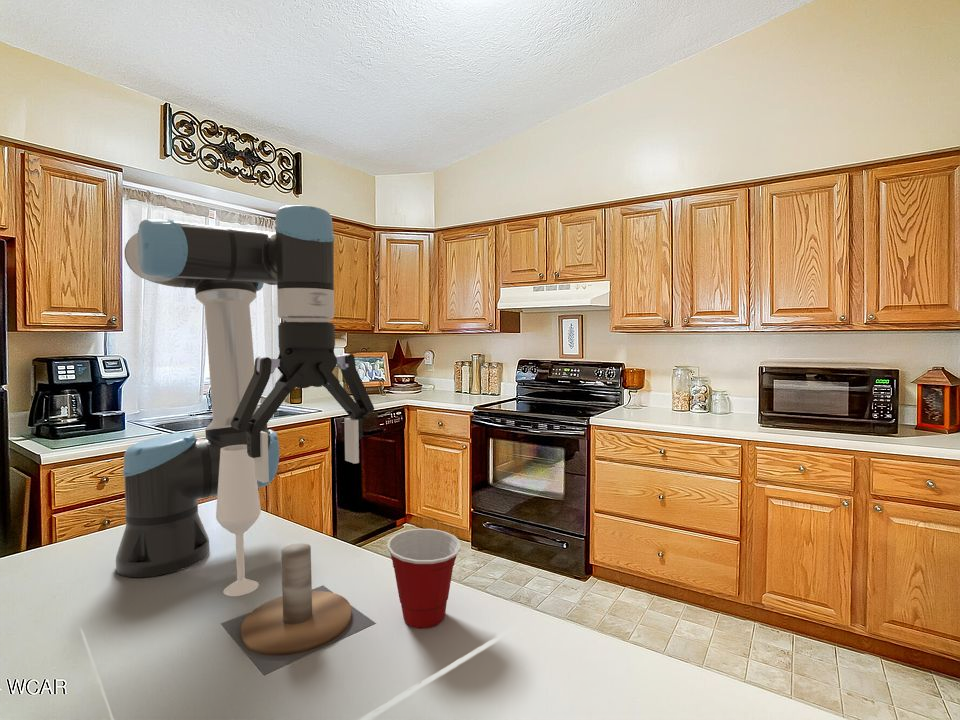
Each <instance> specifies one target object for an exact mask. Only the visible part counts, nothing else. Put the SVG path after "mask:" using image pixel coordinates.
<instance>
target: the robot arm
mask: <svg viewBox="0 0 960 720" xmlns="http://www.w3.org/2000/svg"><path fill="white" fill-rule="evenodd" d="M274 231H275V232H270V231H263V230H262V231H261V230H253V229H252V230H251V229H245V228H244V229H241V228H232V227H222V226H215V225H205V224H198V223H190V222H182V221H175V220H172V219H151V218H150V219H149V218H147V219H143V220H142V221H140V222H139V224H138V229H137V232H136V233H134V234H133V235H132V236H131V237H130V238H129V239H128V240H127V242H126V244H125V248H124V259H125V261H126V264H127V266H128V268H129V269H130V270H131V271H132V272H133V273H134V274H135V275H137V276H138V277H139V278H141V279H143V280H145V281H149V282H151V283H154V284H159V285H163V286H168V287H173V288H185V289H189V288H190V289H194V292H195V293H194V294H195V299H196V300H197V301H199V302H200V303H201V304H202V305H203V306H204V316H205V330H206V340H207V341H206V343H207V356H208V369H209V370H208V371H209V381H210V382H209V384H210V385H209V386H210V396H211V397H210V398H211V399H210V400H211V409H212V411H211V412H212V420H211V422H210V423H209V424H208V425H207V426H206V427H205V429H204V430H205V437H204V438H197V436H196V435H195V433H194V432H189V431H187V432H186V431H185V432H184V431H183V432H175V433H174V432H173V433H168V434H163V435H158V436H154V437H150V438H147V439H144V440H140V441H138V442H136V443H134V444H132V445H130V446H129V447H128V448H127V449H126V451H124V454H123V471H122V476H123V477H124V506H125V507H124V508H125V509H124V510H125V528H124V531H123V533H122V538H121V540H120V544H119V547H118V549H117V553H116V556H115V569H116V573H118V574H119V575H120V576H123V577H128V578H129V577H130V578H147V577H150V578H151V577H157V576H161V575H167V574H171V573H175V572H178V571H181V570H184V569H187V568H189V567H191V566H193V565H197V564H198V563H199V562H201V561H203V560H204V559H205V558H206V557H208V555H209V554H210V551H211V550H210V549H211V547H210V538H209V536H208V534H207V532H206V529H205V526H204V524H203V522H202V520H201V517H200V515H199V508H198V507H199V505H198V504H199V502H198V501H199V500H200V499H206V498H212V497H213V498H214V497H217V494H218V479H219V464H220V449H221V448H223V447H227V446H232V445H247V453H248V456H249V457H252V458H254V465H255V479H256V480H257V485H258V489H259V488H263V487H266V486H268V485H270V484H271V483H272V482H273V480H274V479H275V477H276V475H277V472H278V469H279V461H280V441H279V436H278V433H276V431H275V430H273V429H268V423H269V421H270V420H271V419H272V417H273V416H274V415H275V413H276V412H277V410H278V409H279V408H280V406H281V405H282V404H283V402H284V401H285V400H286V398H287V397H288V395H289V394H290V393H292V392H293V391H294V390H295V389H296V388H298V389H307V388H310V387H315V388H319V387H320V388H321V387H323V388H325V389H326V390H327V391H328V393H330V395H331V396H332V398H334V400H335V401H336V402H337V403H338V404H339V406H340V407H341V408H343V410H344V411H345V412H346V413H347V414H348V416H349V417H346V418H344V419H343V420H344V461H346V462H349V463H352V464H353V465H354V464H359V463H360V448H359V447H360V443H359V442H360V441H359V440H362V439H363V437H364V429H363V428H364V427H363V420H365V419H367V418H368V415H369V414H372V413H374V412H375V407H374V405H373V402H372V400H371V398H370V396H369V394H368V391H367V389H366V388H365V385H364V383H363V381H362V378H361V376H360V375H359V372H358V370H357V366H356V365H357V364H356V359H355V358H356V357H355V355H354V354H352V353H340V355H335V347H336V334H335V333H336V330H335V329H336V326H335V325H334V323H333V322H331V319H334V318H335V286H334V285H335V283H334V282H335V281H334V280H335V276H334V275H335V273H334V271H335V266H334V264H335V262H334V261H335V260H334V259H335V258H334V256H335V255H334V252H335V251H334V242H335V235H334V227H333V218H332V215H331V214H330V212H328V211H327V210H325V209H323V208H321V207H316V206H313V205H312V206H310V205H301V204H300V205H299V204H293V205H292V204H291V205H290V204H289V205H285V206H281V207H280V208H278V209H277V211H276V213H275V224H274ZM265 284H266V285H270V286H276V285H277V286H276V288H277V290H276V291H277V317H278V318H279V319H282V322H279V324H278V325H277V326H278V327H277V329H278V330H277V331H278V332H277V333H278V334H277V335H278V336H277V338H278V351H279V352H278V353H279V354H278V357H277V358H270V357H267V356H257V357H256V358H255V357H254V355H255V354H254V342H253V333H252V332H253V331H252V330H253V329H252V320H251V307H250V305H251V303H252V302H253V301H254V300H256V299H257V292H258V291H261V290H262V289H263V287H264V285H265ZM336 366H337V368H338V369H340V372H341V374H342V376H343V378H344V381H345V383H346V385H347V386H348V389H349V391H350V393H351V395H352V396H351V395H350V394H349V393H348V392H347V391H346V389H345V388H344V387H343V386H342V385H341V383H340V380H339V379H338V378H337V377H336V375H335V374H334V373H333V371H334V370H335V368H336ZM276 368H277V369H278V371H279V372H280V373H281V376H280V377H279V378H278V379H277V381H276V382H275V384H274V387H273V389H272V390H271V391H270V392H269V393H268V395H267V396H266V398H265V399H263V401H262V403H261V404H260V405H259V402H260V399H261V398H262V396H263V393H264V391H265V389H266V386H267V385H268V383H269V380H270V378H271V375H273V373H275V370H276ZM352 397H353V398H352Z"/></svg>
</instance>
